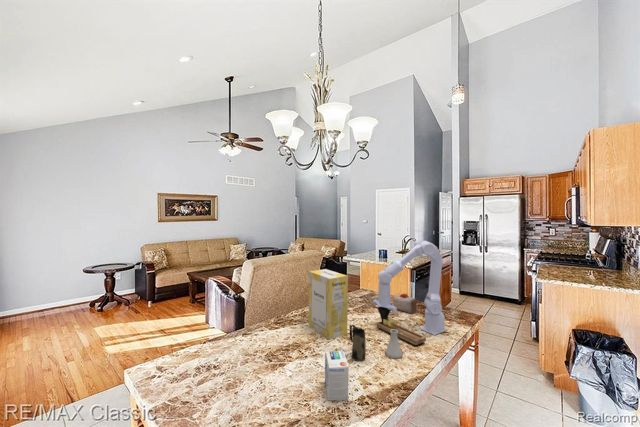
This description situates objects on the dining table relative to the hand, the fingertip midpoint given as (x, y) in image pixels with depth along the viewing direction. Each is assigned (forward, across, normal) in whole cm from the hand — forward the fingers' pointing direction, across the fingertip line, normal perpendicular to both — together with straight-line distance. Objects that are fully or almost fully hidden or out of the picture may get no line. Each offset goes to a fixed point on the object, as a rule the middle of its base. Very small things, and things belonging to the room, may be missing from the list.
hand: (384, 321), depth 147 cm
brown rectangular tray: (+3, +10, 0) cm, 10 cm away
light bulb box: (+3, +27, -50) cm, 57 cm away
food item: (+3, -12, +29) cm, 31 cm away
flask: (+3, +21, -16) cm, 27 cm away
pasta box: (+3, -14, -25) cm, 29 cm away
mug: (+3, +14, -30) cm, 33 cm away
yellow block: (+1, +4, 0) cm, 4 cm away
